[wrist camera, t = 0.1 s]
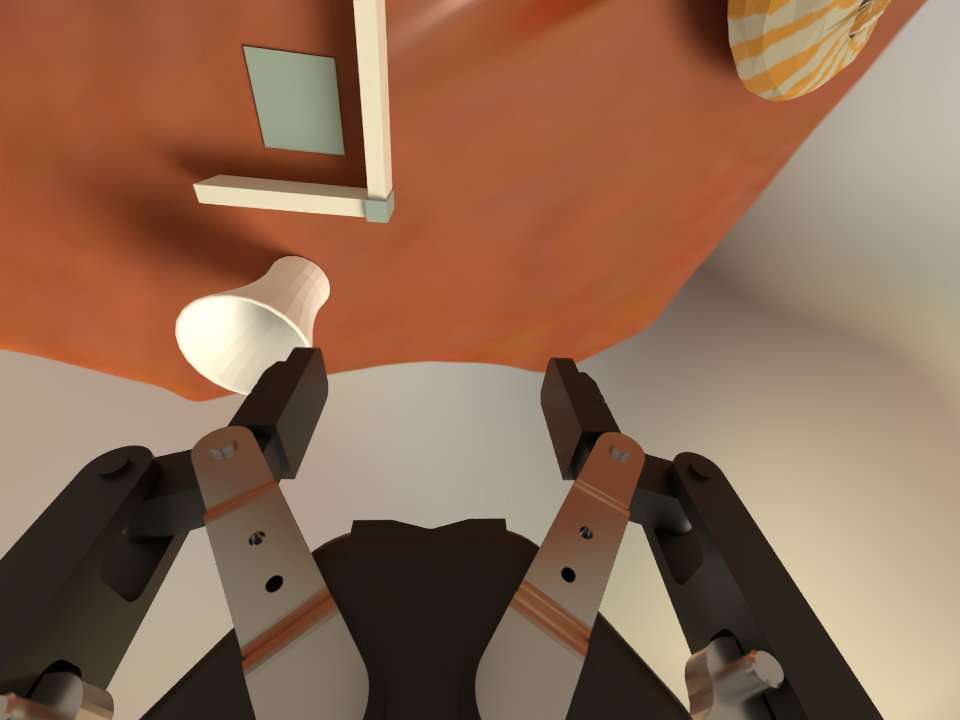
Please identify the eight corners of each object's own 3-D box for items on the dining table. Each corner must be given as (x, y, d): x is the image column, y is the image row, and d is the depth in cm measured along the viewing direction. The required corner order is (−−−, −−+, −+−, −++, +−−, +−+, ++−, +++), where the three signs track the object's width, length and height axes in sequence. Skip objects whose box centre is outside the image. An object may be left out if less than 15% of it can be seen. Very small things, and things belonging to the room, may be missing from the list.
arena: (115, -183, 22) (37, -247, 18) (381, -131, 24) (367, -178, 20) (225, 193, 35) (195, 206, 31) (394, 208, 37) (387, 223, 33)
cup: (248, 307, 42) (179, 381, 31) (251, 222, 37) (168, 275, 26) (340, 332, 45) (305, 408, 34) (355, 257, 40) (320, 318, 29)
